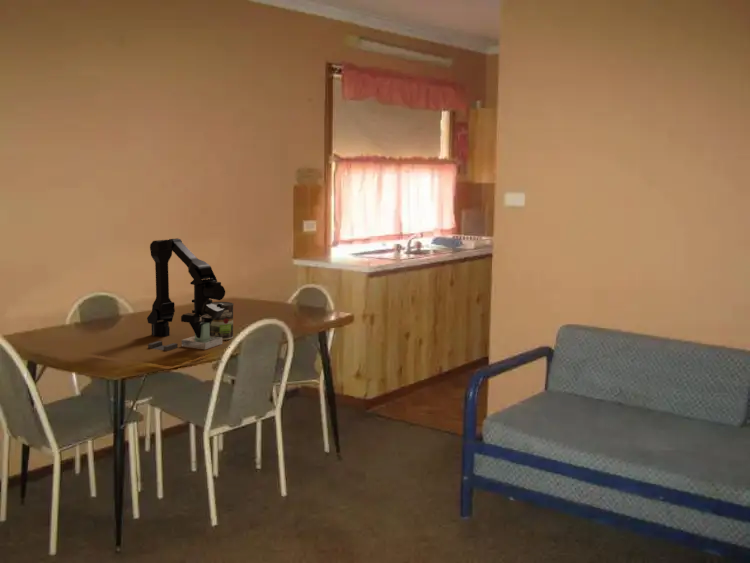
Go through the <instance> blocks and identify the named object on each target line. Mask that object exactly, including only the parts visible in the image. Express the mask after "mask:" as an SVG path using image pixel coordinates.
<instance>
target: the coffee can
mask: <svg viewBox="0 0 750 563" xmlns="http://www.w3.org/2000/svg"><path fill="white" fill-rule="evenodd" d="M220 303H222V304H224V312H223V313H222V315H221V317H217V318H216V319H214V320H213V321H212V322H211V324H210V336H215V337H222V341H228V340H232V339H233V338H234V303H233V302H230V301H212V304H214V305H218V304H220Z"/></svg>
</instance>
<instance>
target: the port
mask: <svg viewBox="0 0 750 563" xmlns="http://www.w3.org/2000/svg"><path fill="white" fill-rule="evenodd" d="M220 345H223V340H222V337H215V336H210V339H208V340H205V341H202V340H195V335H193V336H190V337H187V338H183V339H181V347H185V348H191V349H199V350H208V349H212V348H215V347H217V346H220Z"/></svg>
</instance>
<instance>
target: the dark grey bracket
mask: <svg viewBox="0 0 750 563" xmlns="http://www.w3.org/2000/svg"><path fill="white" fill-rule="evenodd" d="M147 345H148V346H147V347H148V349H153V350H159V351H166V352H168V351H171V350H174V349H178V346H179V345H178V343H175V342H173V343H170V344H167V345H166V344H165V345H164V344H163V341H161V340H158V341H153V342H149V343H148V344H147Z"/></svg>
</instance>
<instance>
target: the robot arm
mask: <svg viewBox="0 0 750 563" xmlns="http://www.w3.org/2000/svg"><path fill="white" fill-rule="evenodd" d="M149 250H150V257H151V258H152V260H153V261H154V265H155V266H154V267H155V268H154V269H155V297H156V298H155V299H154V301H153V303H152V306H151V312H150V314H148V316H147V318H146V320H147V324H150V325H151V336H154V337H157V338H159V337H160V338H161V337H162V338H163V337H166V338H167V337H170V335H171V334H170V333H171V332H170V326H169V324H170V322H171V323H172V322H173V319H174V316H175V312H176V309H175V305H176V304H175V302H174V301H172V300H171V298H170V283H169V282H170V281H169V262H170V259H171V258H172V255H173V253H174V255H175V256H177V257H178V258H179V259H180V261H182V263H184V265H185V266H186V267H187V270H188V271H187V272H188V274H189V275H190V277H191V278H192V280H191V282H190V283H189V284H190V285H193V299H192V300H191V303H192V304H193V307H194V308H193V309H192V310H191V312H187V313H183V314H182V315H181V316H180V321H181V322H182V323H188V324H189V325H190V327H191V328H192V330H193V333H194V335H195V334H196V336H197V338H200V335H201V325H202V323H203V322H207V323H210V324H211V322H212V321H213V320H214V319H216V318H217V317H221V315H222V313H223V312H224V304H222V303H220V304H218V305H214V304H212V302H213V300H214V301H215V300H216V301H221V300H223V299H224V298H225V295H226V290H225V287H224V286H223V285H222V282H220V281H218V279H217V276H216V275H215V273H214V271H213V269H212V266H211V265H210V264H209V263H207V262H206V261H204V260H202V259H199V258H198V257H197V256H195V254H194V253H193V252H192V251H191V250H190V249H189V248H188V247H187V246H186V245H185V244H184V243H183V241H182V239H181V238H179V237H177V238H169V239H158V240H157V239H155V240H152V242H151V243H150V245H149ZM201 319H204V321H201Z"/></svg>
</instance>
